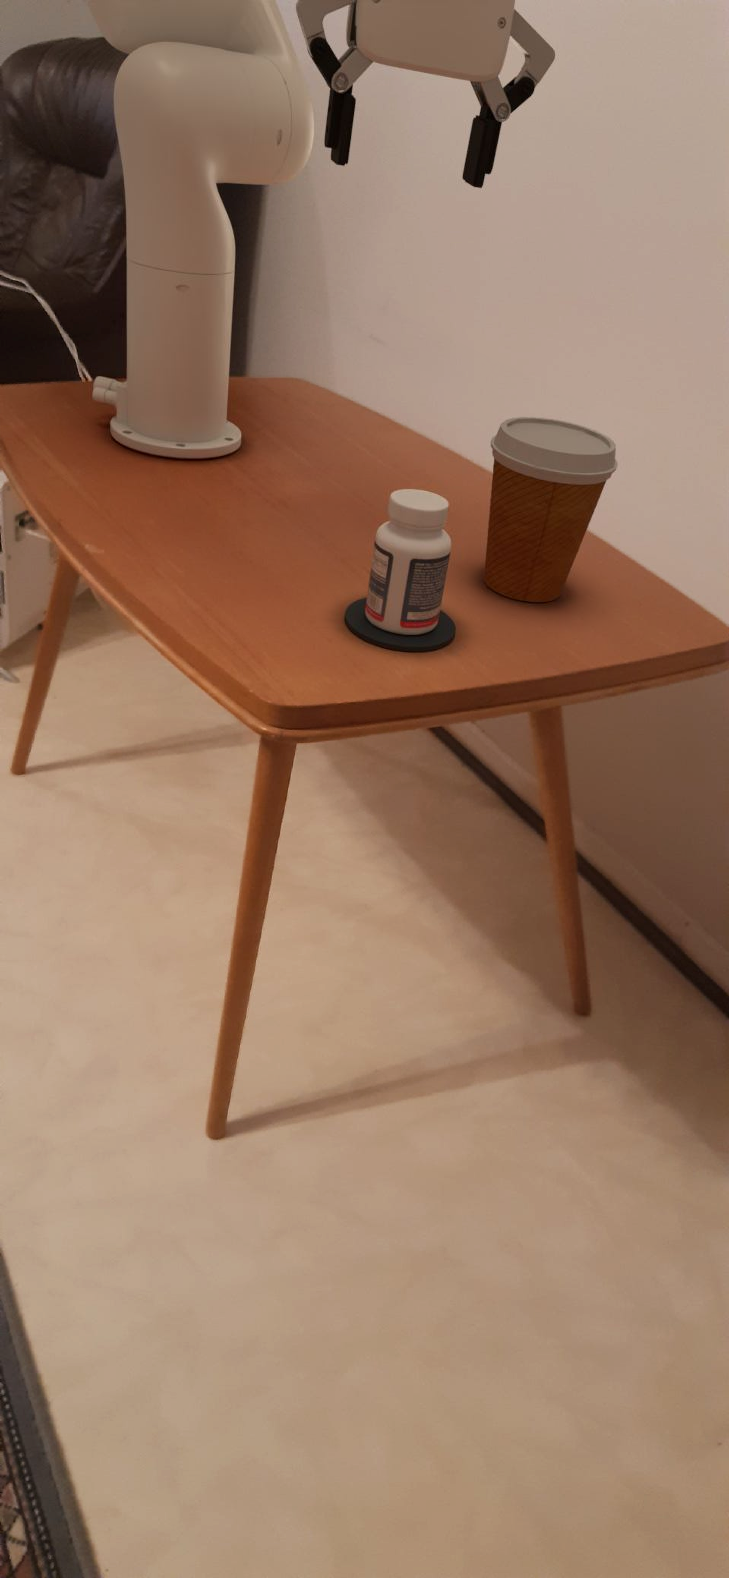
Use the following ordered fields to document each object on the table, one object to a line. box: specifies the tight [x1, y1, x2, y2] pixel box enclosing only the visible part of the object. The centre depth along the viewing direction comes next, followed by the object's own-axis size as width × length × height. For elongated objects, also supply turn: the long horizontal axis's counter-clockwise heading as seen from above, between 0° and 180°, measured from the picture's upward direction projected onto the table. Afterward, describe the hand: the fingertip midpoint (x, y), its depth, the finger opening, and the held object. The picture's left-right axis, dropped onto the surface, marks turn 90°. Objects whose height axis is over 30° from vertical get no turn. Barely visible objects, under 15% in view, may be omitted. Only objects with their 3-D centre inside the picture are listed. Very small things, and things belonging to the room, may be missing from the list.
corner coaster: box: [344, 597, 457, 653], centre depth 73 cm, size 8×8×1 cm
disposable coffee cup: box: [483, 416, 619, 603], centre depth 79 cm, size 10×10×12 cm
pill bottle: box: [365, 488, 452, 635], centre depth 71 cm, size 5×5×9 cm
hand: (406, 174), depth 71 cm, fingers open, 9 cm apart
